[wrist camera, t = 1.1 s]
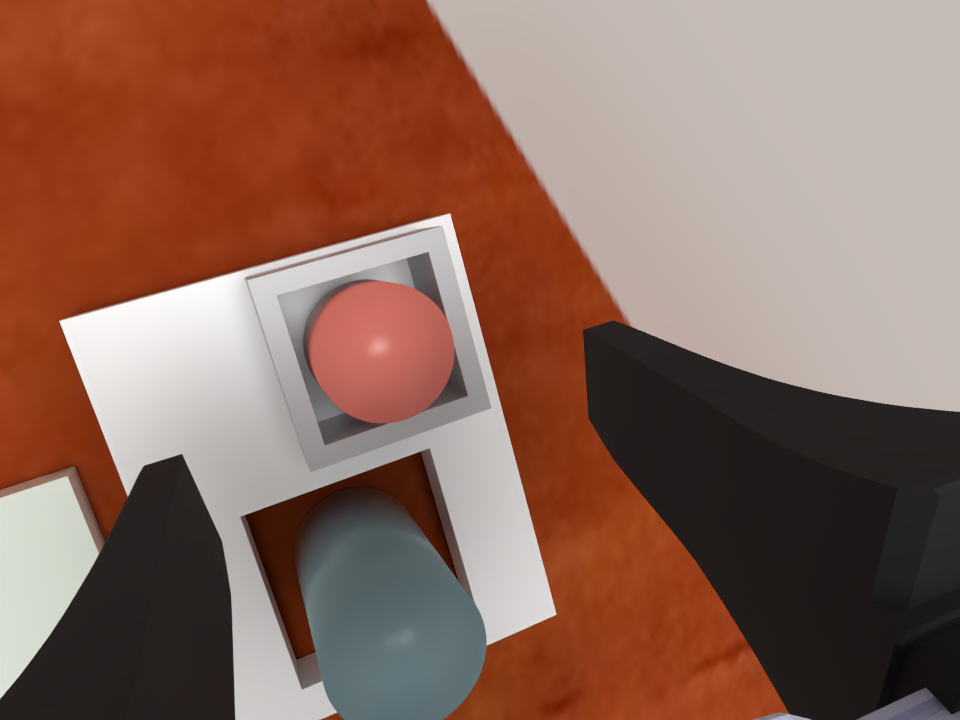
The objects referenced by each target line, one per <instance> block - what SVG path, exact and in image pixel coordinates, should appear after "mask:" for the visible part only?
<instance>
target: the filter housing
mask: <svg viewBox="0 0 960 720" xmlns="http://www.w3.org/2000/svg"><path fill="white" fill-rule="evenodd" d="M364 279H370V280H379V281H385V282H392V283H397V284H403V285H406V286H409V287H412V288H414V289H416V290H418V291H420V292H422V293H423V294H425V295H426V296H428V297H429V298H430V299H431V300H432V301H433V302H434V303H435V304H436V305H437V306H438V307H439V308H440V310H441V311H442V313H443V314H444V315H445V317H446V319H447V321H448V323H449V326H450V329H451V331H452V336H453V340H454V362H453V368H452V371H451V374H450V377H449V379H448V382H447V384H446V386H445V387H444V389H443V391H442V392H441V394H440V395H439V396H438V397H437V399H436V400H435V401H434V402H433V403H432V404H431V405H430V406H429V407H427V408H426V409H425V410H423V411H422V412H420V413H419V414H417V415H415V416H413V417H411V418H408V419H406V420H402V421H399V422H394V423H371V422H367V421H363V420H360V419H357V418H355V417H352V416H351V415H349V414H347V413H345V412H344V411H343V410H341V409H340V408H339V407H337V406H336V405H335V404H334V403H333V402H332V401H331V400H330V398H329V397H328V396H327V394H326V393H325V392H324V390H323V389H322V388H321V386H320V385H319V384H318V382H317V381H316V380H315V378H314V377H313V375H312V374H311V372H310V370H309V368H308V365H307V363H306V359H305V355H304V347H303V338H304V331H305V327H306V323H307V320H308V318H309V316H310V314H311V312H312V310H313V309H314V307H315V306H316V304H317V303H318V302H319V301H320V300H321V299H322V298H323V297H324V296H325V295H326V294H327V293H328V292H330V291H331V290H333V289H334V288H336V287H338V286H340V285H342V284H345V283H347V282H351V281H355V280H364ZM60 324H61V326H62V329H63V332H64V334H65V337H66V339H67V342H68V344H69V347H70V350H71V352H72V355H73V357H74V360H75V362H76V365H77V368H78V370H79V373H80V375H81V378H82V380H83V383H84V386H85V388H86V391H87V393H88V396H89V398H90V401H91V404H92V406H93V409H94V411H95V414H96V416H97V419H98V421H99V424H100V427H101V429H102V432H103V434H104V437H105V439H106V442H107V445H108V447H109V450H110V452H111V455H112V457H113V460H114V463H115V465H116V468H117V470H118V473H119V475H120V478H121V481H122V483H123V486H124V488H125V491H126V493H127V496H129V494H130V491H131V489H132V487H133V485H134V483H135V481H136V479H137V477H138V475H139V473H140V471H141V470H142V468H143V466H144V465H148V464H151V463H154V462H157V461H161V460H164V459H167V458H170V457H174V456H177V455H180V454H182V455H183V457H184V459H185V461H186V463H187V466H188V468H189V470H190V472H191V474H192V477H193V479H194V481H195V483H196V485H197V487H198V490H199V492H200V494H201V496H202V498H203V501H204V503H205V505H206V507H207V509H208V511H209V514H210V516H211V518H212V520H213V522H214V525H215V527H216V529H217V531H218V533H219V535H220V538H221V540H222V543H223V549H224V555H225V560H226V566H227V572H228V578H229V584H230V591H231V604H232V630H233V662H234V695H235V720H321V719H323V718H325V717H328V716H330V715H332V714H334V713H337V711H336V710H335V709H334V707H333V706H332V704H331V703H330V701H329V699H328V697H327V694H326V692H325V689H324V685H323V681H322V677H321V673H320V668H319V664H318V660H317V656H316V652H314V653H312V654H309V655H307V656H304V657H302V658H300V659H297V660H296V657H295V655H294V652H293V649H292V646H291V643H290V640H289V638H288V635H287V632H286V629H285V626H284V624H283V621H282V618H281V615H280V612H279V609H278V607H277V604H276V601H275V598H274V595H273V593H272V590H271V587H270V584H269V581H268V578H267V576H266V573H265V570H264V567H263V564H262V561H261V559H260V556H259V553H258V550H257V547H256V545H255V542H254V539H253V536H252V533H251V530H250V528H249V525H248V522H247V519H246V516H245V515H246V514H249V513H252V512H255V511H257V510H260V509H263V508H266V507H268V506H271V505H274V504H277V503H280V502H282V501H285V500H288V499H291V498H293V497H296V496H299V495H302V494H304V493H307V492H310V491H313V490H315V489H318V488H321V487H324V486H327V485H329V484H332V483H335V482H338V481H340V480H343V479H346V478H349V477H351V476H354V475H357V474H360V473H363V472H365V471H368V470H371V469H374V468H376V467H379V466H382V465H385V464H387V463H390V462H393V461H396V460H398V459H401V458H404V457H407V456H410V455H412V454H415V453H418V452H421V455H422V458H423V462H424V465H425V468H426V472H427V475H428V479H429V482H430V486H431V489H432V492H433V496H434V499H435V503H436V506H437V509H438V513H439V516H440V520H441V523H442V526H443V530H444V533H445V537H446V540H447V543H448V547H449V550H450V554H451V557H452V560H453V564H454V567H455V571H456V574H457V577H458V581H459V583H460V584H461V585H462V587H463V588H464V590H465V591H466V592H467V594H468V595H469V596H470V598H471V599H472V601H473V602H474V603H475V605H476V606H477V608H478V610H479V612H480V614H481V616H482V619H483V622H484V626H485V630H486V641H487V644H486V646H487V645H489V644H492V643H494V642H496V641H498V640H501V639H503V638H505V637H507V636H510V635H512V634H514V633H516V632H519V631H521V630H523V629H525V628H527V627H530V626H532V625H534V624H536V623H539V622H541V621H543V620H545V619H548V618H550V617H552V616H554V615H556V611H555V607H554V603H553V600H552V596H551V592H550V588H549V585H548V581H547V577H546V573H545V570H544V566H543V562H542V558H541V554H540V551H539V547H538V543H537V539H536V536H535V532H534V528H533V524H532V521H531V517H530V513H529V509H528V505H527V502H526V498H525V494H524V490H523V487H522V483H521V479H520V475H519V472H518V468H517V464H516V460H515V456H514V453H513V449H512V445H511V441H510V438H509V434H508V430H507V426H506V423H505V419H504V415H503V411H502V407H501V404H500V400H499V396H498V392H497V389H496V385H495V381H494V377H493V374H492V370H491V366H490V362H489V358H488V355H487V351H486V347H485V343H484V340H483V336H482V332H481V328H480V325H479V321H478V317H477V313H476V309H475V306H474V302H473V298H472V294H471V291H470V287H469V283H468V279H467V276H466V272H465V268H464V264H463V260H462V257H461V253H460V249H459V245H458V242H457V238H456V234H455V230H454V227H453V223H452V219H451V215H450V214H445V215H440V216H434V217H431V218H427V219H423V220H420V221H416V222H412V223H409V224H405V225H401V226H398V227H394V228H391V229H387V230H383V231H380V232H376V233H372V234H369V235H365V236H361V237H358V238H354V239H350V240H347V241H343V242H340V243H336V244H332V245H329V246H325V247H321V248H318V249H314V250H310V251H307V252H303V253H300V254H296V255H292V256H289V257H285V258H281V259H278V260H274V261H270V262H267V263H263V264H259V265H256V266H252V267H249V268H245V269H241V270H238V271H234V272H230V273H227V274H223V275H219V276H216V277H212V278H208V279H205V280H201V281H198V282H194V283H190V284H187V285H183V286H179V287H176V288H172V289H168V290H165V291H161V292H158V293H154V294H150V295H147V296H143V297H139V298H136V299H132V300H128V301H125V302H121V303H117V304H114V305H110V306H107V307H103V308H99V309H96V310H92V311H88V312H85V313H81V314H77V315H74V316H71V317H68V318H66V319H63V320H61V321H60Z"/></svg>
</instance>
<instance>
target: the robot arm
mask: <svg viewBox="0 0 960 720" xmlns="http://www.w3.org/2000/svg"><path fill="white" fill-rule="evenodd" d="M583 336H584V352H585V368H586V384H587V400H588V416H589V419H590V421H591V423H592V424H593V426H594V428H595V430H596V431H597V433H598V435H599V436H600V438H601V440H602V442H603V443H604V445H605V446H606V448H607V450H608V451H609V453H610V454H611V456H612V457H613V459H614V460H615V462H616V463H617V464H618V466H619V467H620V468H621V469H622V471H623V472H624V473H625V474H626V475H627V477H628V478H629V479H630V480H631V482H632V483H633V484H634V485H635V487H636V488H637V489H638V490H639V492H640V493H641V494H642V495H643V496H644V498H645V499H646V500H647V501H648V502H649V504H650V505H651V506H652V507H653V508H654V510H655V511H656V512H657V513H658V514H659V516H660V517H661V518H662V519H663V521H664V522H665V523H666V524H667V525H668V527H669V528H670V529H671V530H672V531H673V533H674V534H675V535H676V536H677V537H678V539H679V540H680V541H681V542H682V544H683V545H684V546H685V548H686V549H687V550H688V552H689V553H690V554H691V556H692V557H693V558H694V559H695V561H696V562H697V564H698V565H699V567H700V568H701V570H702V571H703V573H704V574H705V576H706V577H707V579H708V580H709V582H710V583H711V585H712V586H713V588H714V589H715V591H716V593H717V594H718V596H719V597H720V599H721V600H722V602H723V603H724V605H725V606H726V608H727V610H728V611H729V613H730V614H731V616H732V618H733V619H734V621H735V622H736V624H737V626H738V627H739V629H740V631H741V632H742V634H743V635H744V637H745V639H746V640H747V642H748V643H749V645H750V647H751V648H752V650H753V652H754V653H755V655H756V657H757V658H758V660H759V662H760V664H761V665H762V667H763V669H764V670H765V672H766V674H767V676H768V677H769V679H770V681H771V682H772V684H773V686H774V688H775V689H776V691H777V693H778V695H779V696H780V698H781V700H782V701H783V703H784V705H785V707H786V709H787V710H788V712H789V714H785V713H775V714H772V715H768V716H765V717H761V718H758V719H754V720H960V412H953V411H942V410H932V409H922V408H913V407H904V406H897V405H889V404H882V403H875V402H870V401H864V400H858V399H852V398H847V397H841V396H837V395H832V394H827V393H822V392H818V391H814V390H810V389H806V388H801V387H798V386H794V385H790V384H786V383H782V382H778V381H775V380H772V379H768V378H765V377H762V376H758V375H756V374H753V373H750V372H747V371H743V370H740V369H737V368H734V367H731V366H729V365H726V364H723V363H720V362H718V361H715V360H712V359H710V358H707V357H704V356H701V355H699V354H697V353H694V352H691V351H689V350H686V349H684V348H681V347H679V346H676V345H674V344H672V343H669V342H667V341H664V340H662V339H659V338H657V337H655V336H652V335H650V334H647V333H645V332H642V331H640V330H637V329H635V328H632V327H630V326H627V325H624V324H622V323H619V322H616V321H610V322H607V323H604V324H601V325H598V326H594V327H591V328H588V329H585V330H583ZM0 720H235V695H234V662H233V630H232V604H231V591H230V584H229V578H228V572H227V566H226V560H225V555H224V549H223V543H222V540H221V538H220V535H219V533H218V531H217V529H216V527H215V525H214V522H213V520H212V518H211V516H210V514H209V511H208V509H207V507H206V505H205V503H204V501H203V498H202V496H201V494H200V492H199V490H198V487H197V485H196V483H195V481H194V479H193V477H192V474H191V472H190V470H189V468H188V466H187V463H186V461H185V459H184V457H183V455H182V454H180V455H177V456H174V457H170V458H167V459H164V460H161V461H157V462H154V463H151V464H148V465H144V466H143V468H142V470H141V471H140V473H139V475H138V477H137V479H136V481H135V483H134V485H133V487H132V489H131V491H130V494H129V496H128V498H127V500H126V502H125V504H124V506H123V508H122V510H121V512H120V514H119V516H118V518H117V520H116V522H115V524H114V526H113V528H112V530H111V532H110V534H109V536H108V538H107V540H106V542H105V543H104V545H103V547H102V549H101V551H100V553H99V555H98V557H97V558H96V560H95V562H94V564H93V566H92V568H91V569H90V571H89V573H88V575H87V576H86V578H85V580H84V581H83V583H82V585H81V586H80V588H79V590H78V591H77V593H76V595H75V596H74V598H73V599H72V601H71V603H70V604H69V606H68V608H67V609H66V611H65V613H64V614H63V616H62V617H61V619H60V620H59V622H58V623H57V625H56V626H55V628H54V629H53V631H52V632H51V634H50V635H49V637H48V638H47V640H46V641H45V642H44V644H43V645H42V646H41V648H40V649H39V650H38V652H37V653H36V655H35V656H34V657H33V659H32V660H31V661H30V663H29V664H28V665H27V667H26V668H25V669H24V671H23V672H22V673H21V674H20V676H19V677H18V678H17V679H16V681H15V682H14V683H13V684H12V685H11V687H10V688H9V689H8V690H7V691H6V692H5V694H4V695H3V696H2V697H1V698H0Z"/></svg>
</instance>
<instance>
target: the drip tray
mask: <svg viewBox="0 0 960 720" xmlns="http://www.w3.org/2000/svg"><path fill="white" fill-rule="evenodd" d="M104 543H105V540H104V538H103V535H102V533H101V530H100V528H99V525H98V523H97V520H96V518H95V515H94V513H93V510H92V508H91V505H90V503H89V500H88V498H87V495H86V493H85V490H84V488H83V485H82V483H81V480H80V478H79V475H78V473H77V470H76V468H75V466H72V467H69V468H66V469H63V470H60V471H57V472H54V473H51V474H48V475H45V476H42V477H38V478H35V479H32V480H29V481H26V482H23V483H20V484H17V485H14V486H11V487H8V488H5V489H1V490H0V698H1V697H2V696H3V695H4V694H5V692H6V691H7V690H8V689H9V688H10V687H11V685H12V684H13V683H14V682H15V681H16V679H17V678H18V677H19V676H20V674H21V673H22V672H23V671H24V669H25V668H26V667H27V665H28V664H29V663H30V661H31V660H32V659H33V657H34V656H35V655H36V653H37V652H38V650H39V649H40V648H41V646H42V645H43V644H44V642H45V641H46V640H47V638H48V637H49V635H50V634H51V632H52V631H53V629H54V628H55V626H56V625H57V623H58V622H59V620H60V619H61V617H62V616H63V614H64V613H65V611H66V609H67V608H68V606H69V604H70V603H71V601H72V599H73V598H74V596H75V595H76V593H77V591H78V590H79V588H80V586H81V585H82V583H83V581H84V580H85V578H86V576H87V575H88V573H89V571H90V569H91V568H92V566H93V564H94V562H95V560H96V558H97V557H98V555H99V553H100V551H101V549H102V547H103V545H104Z"/></svg>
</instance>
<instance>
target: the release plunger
mask: <svg viewBox="0 0 960 720" xmlns="http://www.w3.org/2000/svg"><path fill="white" fill-rule="evenodd" d="M303 347H304V355H305V359H306V363H307V365H308V368H309V370H310V372H311V374H312V375H313V377H314V378H315V380H316V381H317V382H318V384H319V385H320V386H321V388H322V389H323V390H324V392H325V393H326V394H327V396H328V397H329V398H330V400H331V401H332V402H333V403H334V404H335V405H336V406H337V407H339V408H340V409H341V410H343V411H344V412H345V413H347V414H349V415H351V416H352V417H355V418H357V419H360V420H363V421H367V422H371V423H394V422H399V421H402V420H406V419H408V418H411V417H413V416H415V415H417V414H419V413H420V412H422V411H423V410H425V409H426V408H427V407H429V406H430V405H431V404H432V403H433V402H434V401H435V400H436V399H437V397H438V396H439V395H440V394H441V392H442V391H443V389H444V387H445V386H446V384H447V382H448V379H449V377H450V374H451V371H452V368H453V362H454V340H453V336H452V331H451V329H450V326H449V323H448V321H447V319H446V317H445V315H444V314H443V313H442V311H441V310H440V308H439V307H438V306H437V305H436V304H435V303H434V302H433V301H432V300H431V299H430V298H429V297H428V296H426V295H425V294H423V293H422V292H420V291H418V290H416V289H414V288H412V287H409V286H406V285H403V284H397V283H392V282H385V281H379V280H370V279H364V280H355V281H351V282H347V283H345V284H342V285H340V286H338V287H336V288H334V289H333V290H331V291H330V292H328V293H327V294H326V295H325V296H324V297H323V298H322V299H321V300H320V301H319V302H318V303H317V304H316V306H315V307H314V309H313V310H312V312H311V314H310V316H309V318H308V320H307V323H306V327H305V331H304V338H303Z"/></svg>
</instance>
